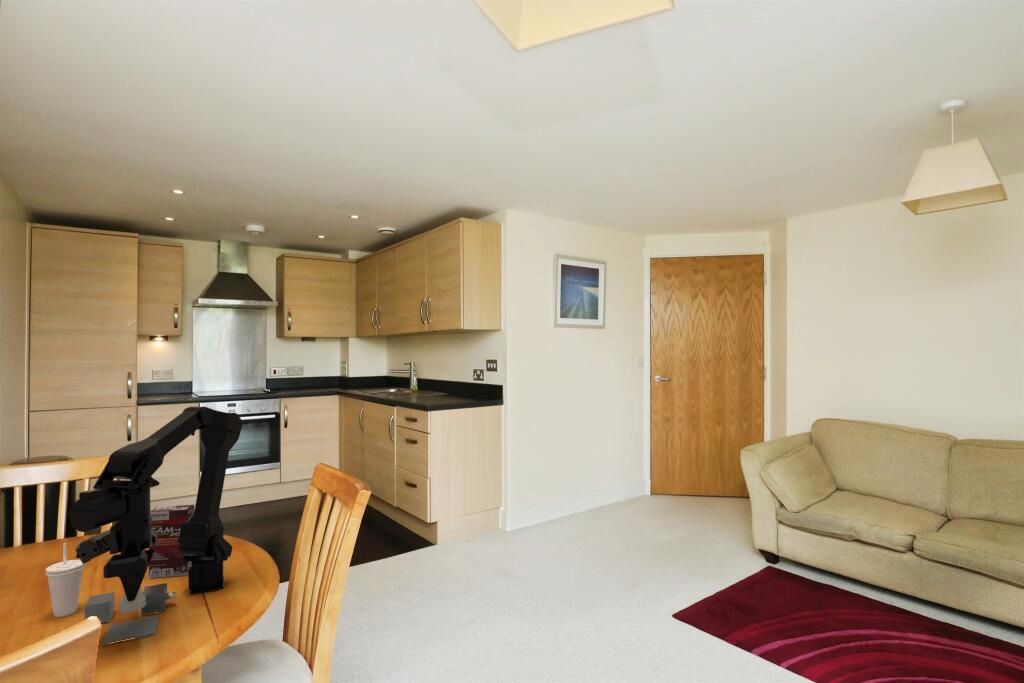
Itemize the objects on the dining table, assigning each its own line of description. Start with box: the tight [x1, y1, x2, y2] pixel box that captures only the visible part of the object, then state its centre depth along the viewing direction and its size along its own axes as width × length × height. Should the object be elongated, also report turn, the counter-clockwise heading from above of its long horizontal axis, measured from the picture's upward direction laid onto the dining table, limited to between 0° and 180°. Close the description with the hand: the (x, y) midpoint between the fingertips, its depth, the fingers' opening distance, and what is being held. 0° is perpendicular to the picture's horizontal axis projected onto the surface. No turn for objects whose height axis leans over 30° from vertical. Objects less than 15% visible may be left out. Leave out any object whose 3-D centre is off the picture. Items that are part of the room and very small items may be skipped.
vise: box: [84, 582, 176, 624], centre depth 112 cm, size 15×5×4 cm, turn 117°
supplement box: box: [148, 504, 196, 579], centre depth 132 cm, size 9×5×16 cm, turn 101°
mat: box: [101, 614, 161, 647], centre depth 104 cm, size 8×8×1 cm
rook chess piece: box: [118, 585, 146, 614], centre depth 104 cm, size 4×4×8 cm
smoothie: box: [44, 542, 86, 618], centre depth 112 cm, size 6×6×14 cm
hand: (133, 596), depth 104 cm, fingers closed on rook chess piece, 3 cm apart
